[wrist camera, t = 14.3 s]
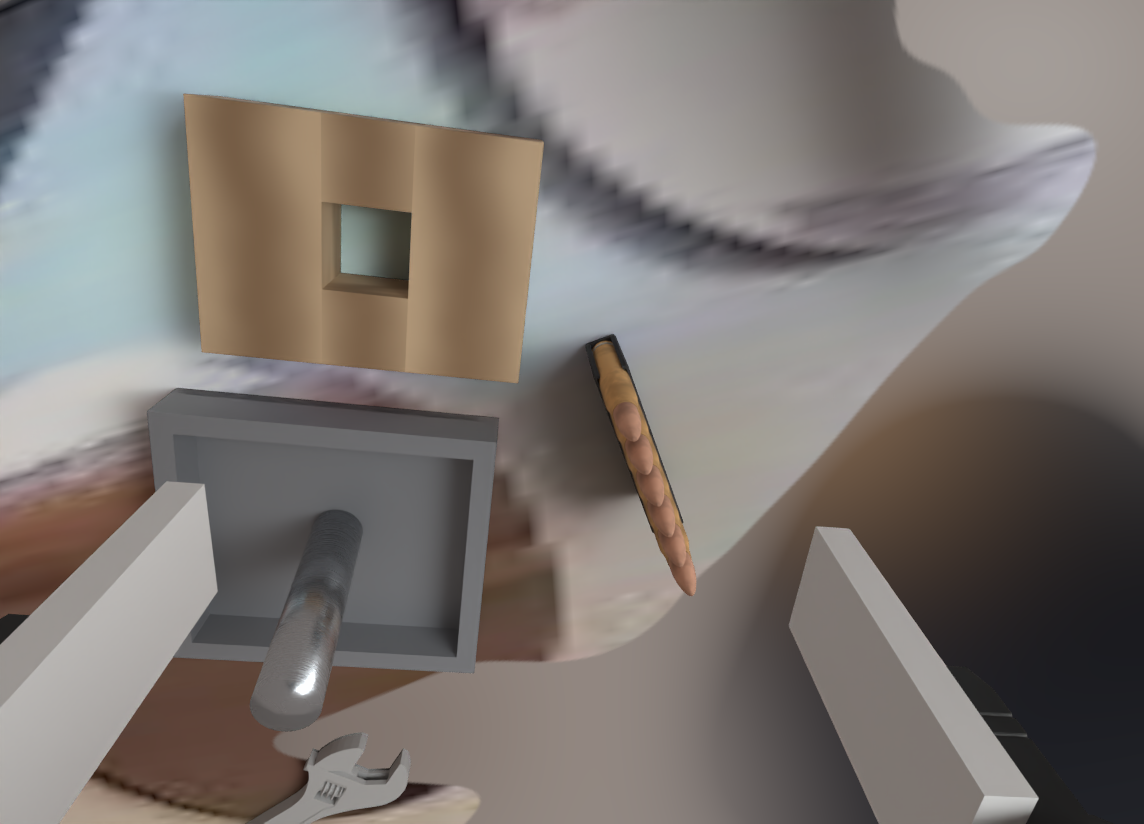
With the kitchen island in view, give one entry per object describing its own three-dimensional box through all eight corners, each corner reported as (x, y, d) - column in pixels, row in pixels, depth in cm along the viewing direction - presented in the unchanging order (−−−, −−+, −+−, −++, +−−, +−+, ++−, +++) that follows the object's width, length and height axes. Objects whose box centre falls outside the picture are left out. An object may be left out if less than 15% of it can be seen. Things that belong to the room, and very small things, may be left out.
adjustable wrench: (170, 897, 58) (159, 920, 56) (110, 853, 55) (97, 876, 54) (423, 768, 54) (420, 789, 52) (370, 715, 51) (365, 734, 50)
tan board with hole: (541, 140, 37) (543, 142, 33) (518, 359, 41) (518, 383, 38) (219, 96, 35) (183, 93, 31) (231, 329, 39) (201, 352, 36)
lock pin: (363, 511, 43) (322, 680, 31) (361, 552, 45) (321, 731, 32) (312, 508, 43) (249, 678, 30) (312, 550, 44) (250, 731, 31)
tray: (498, 417, 43) (497, 442, 39) (477, 636, 49) (474, 673, 45) (176, 388, 41) (146, 411, 37) (196, 619, 47) (172, 657, 43)
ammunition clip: (584, 344, 41) (607, 428, 30) (614, 333, 41) (648, 413, 30) (640, 494, 45) (679, 616, 34) (668, 484, 45) (715, 603, 34)
